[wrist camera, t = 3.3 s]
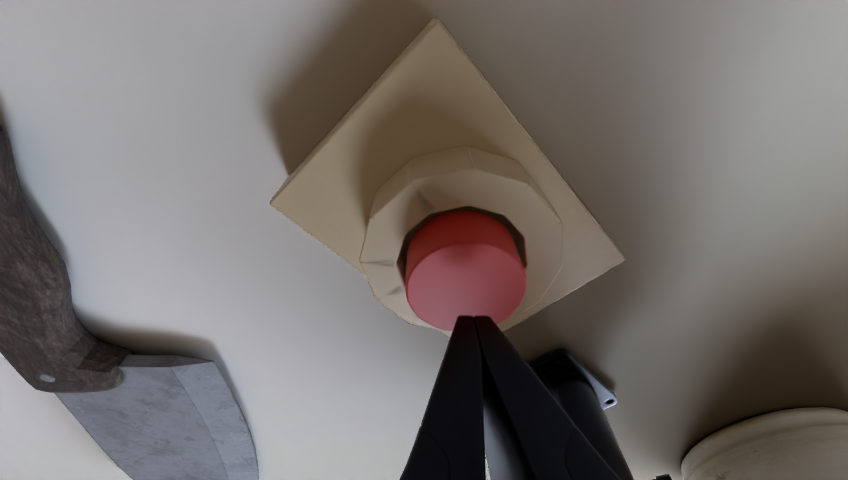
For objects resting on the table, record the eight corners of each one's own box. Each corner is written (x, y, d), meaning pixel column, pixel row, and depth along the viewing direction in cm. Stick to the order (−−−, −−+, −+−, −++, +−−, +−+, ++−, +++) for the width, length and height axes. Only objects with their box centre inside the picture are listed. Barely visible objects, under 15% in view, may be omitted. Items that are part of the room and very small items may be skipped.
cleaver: (-159, 90, 12) (-256, 106, 10) (135, 112, 13) (90, 130, 11) (151, 475, 29) (134, 506, 27) (274, 479, 29) (264, 509, 27)
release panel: (603, 230, 16) (652, 292, 12) (463, 318, 19) (472, 387, 15) (435, 15, 11) (440, 22, 8) (287, 177, 14) (245, 231, 11)
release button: (536, 257, 12) (551, 293, 11) (454, 310, 13) (458, 348, 12) (468, 186, 11) (475, 217, 9) (384, 254, 12) (379, 290, 10)
